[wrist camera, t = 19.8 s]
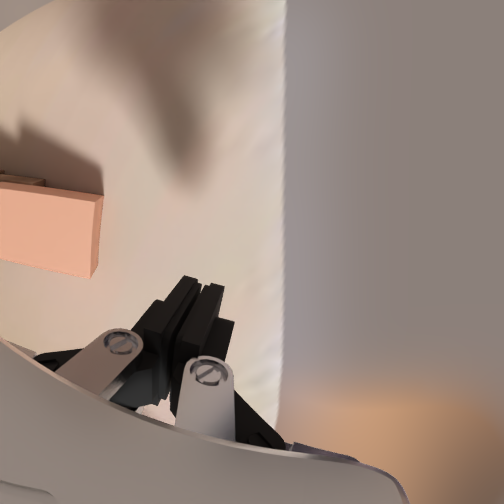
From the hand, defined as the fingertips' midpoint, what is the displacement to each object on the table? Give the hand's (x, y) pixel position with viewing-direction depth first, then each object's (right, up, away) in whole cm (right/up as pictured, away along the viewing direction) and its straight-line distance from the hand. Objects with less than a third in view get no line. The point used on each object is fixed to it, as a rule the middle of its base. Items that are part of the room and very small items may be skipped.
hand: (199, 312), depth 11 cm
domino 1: (-8, +3, +5) cm, 10 cm away
